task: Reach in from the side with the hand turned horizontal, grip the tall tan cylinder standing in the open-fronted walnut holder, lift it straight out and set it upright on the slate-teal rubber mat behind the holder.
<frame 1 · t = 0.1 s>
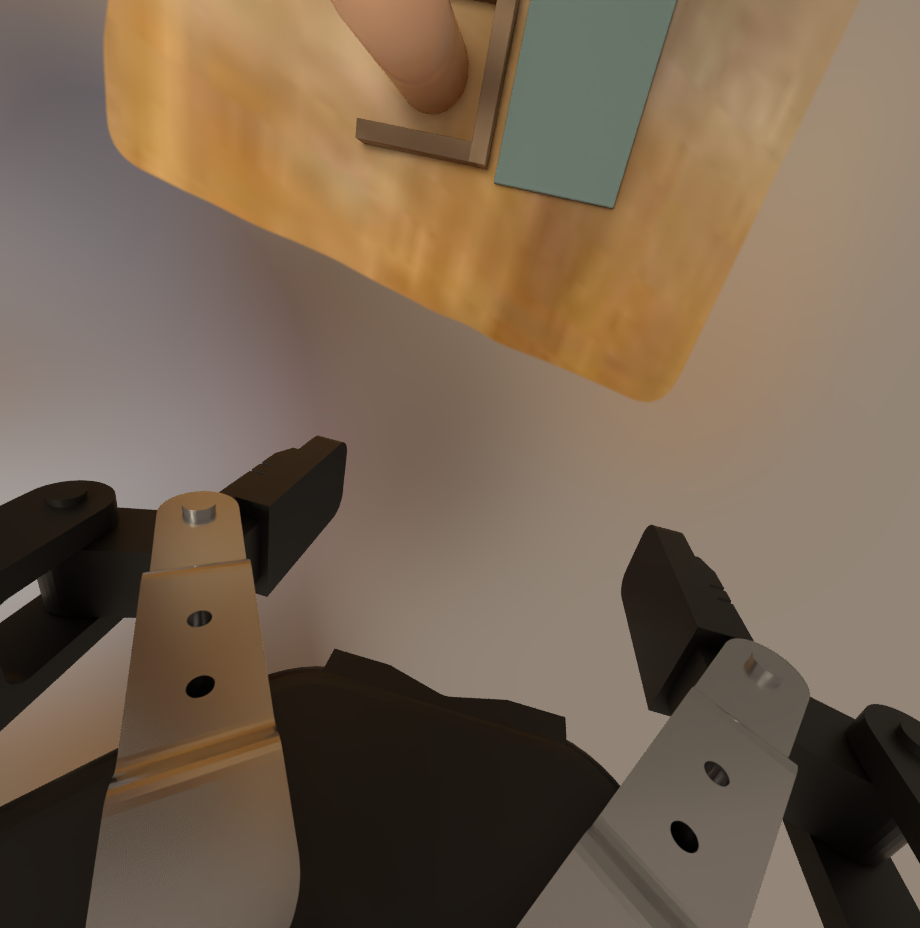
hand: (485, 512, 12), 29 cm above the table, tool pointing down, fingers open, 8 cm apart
tall tan cylinder: (410, 27, 26), in the holder
mat: (577, 97, 31), on the table
holder: (432, 68, 32), on the table
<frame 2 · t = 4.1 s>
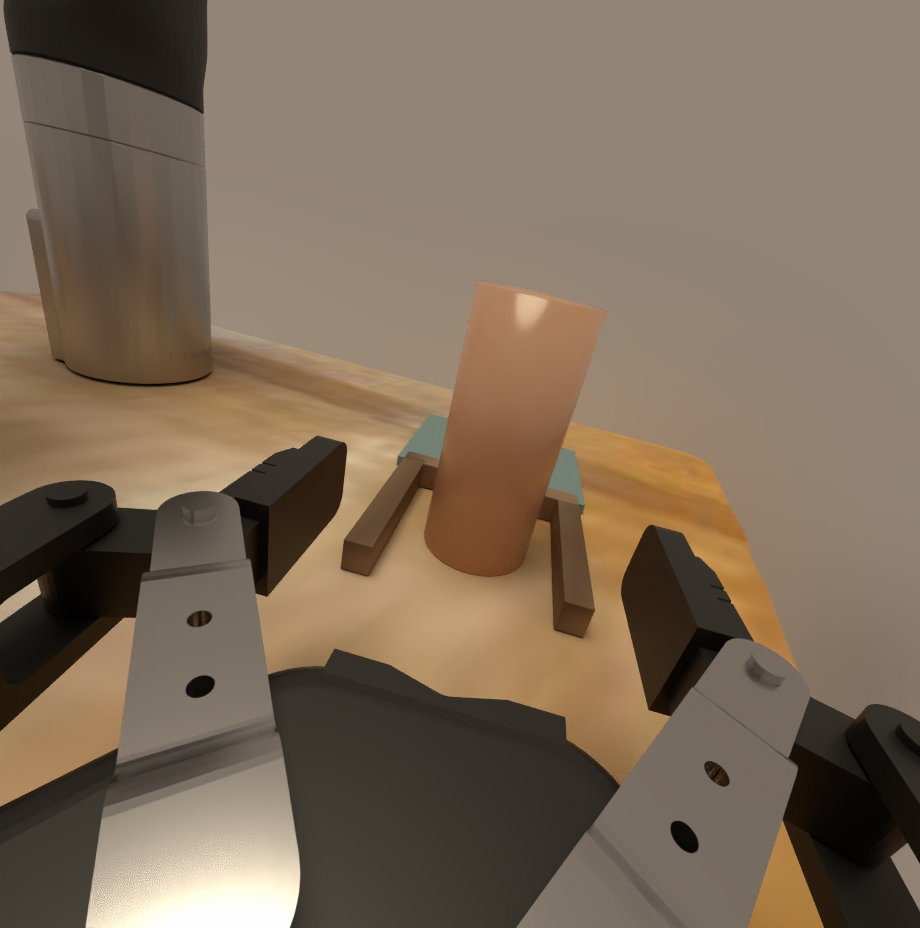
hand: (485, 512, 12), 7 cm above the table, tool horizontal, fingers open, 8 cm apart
tall tan cylinder: (503, 433, 20), in the holder
mat: (494, 460, 32), on the table
holder: (474, 541, 23), on the table
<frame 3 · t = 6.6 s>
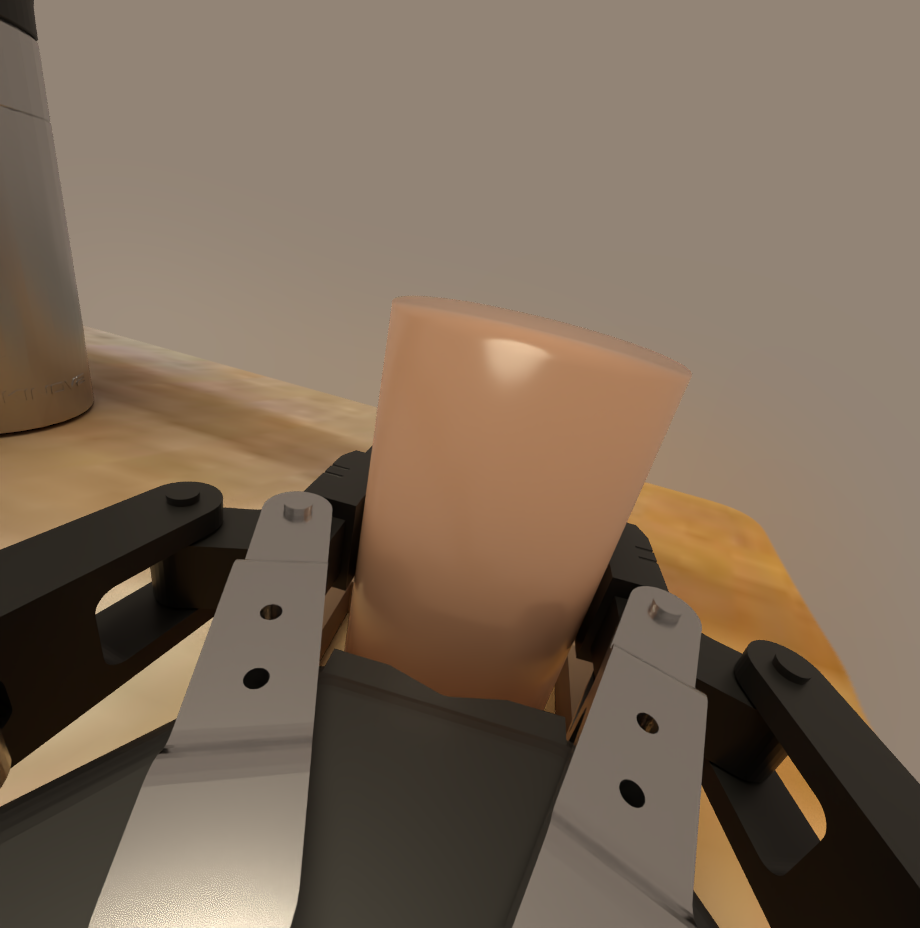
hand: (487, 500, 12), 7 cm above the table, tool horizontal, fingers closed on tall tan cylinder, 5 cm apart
tall tan cylinder: (466, 588, 10), in the holder, touching gripper
holder: (423, 745, 13), on the table
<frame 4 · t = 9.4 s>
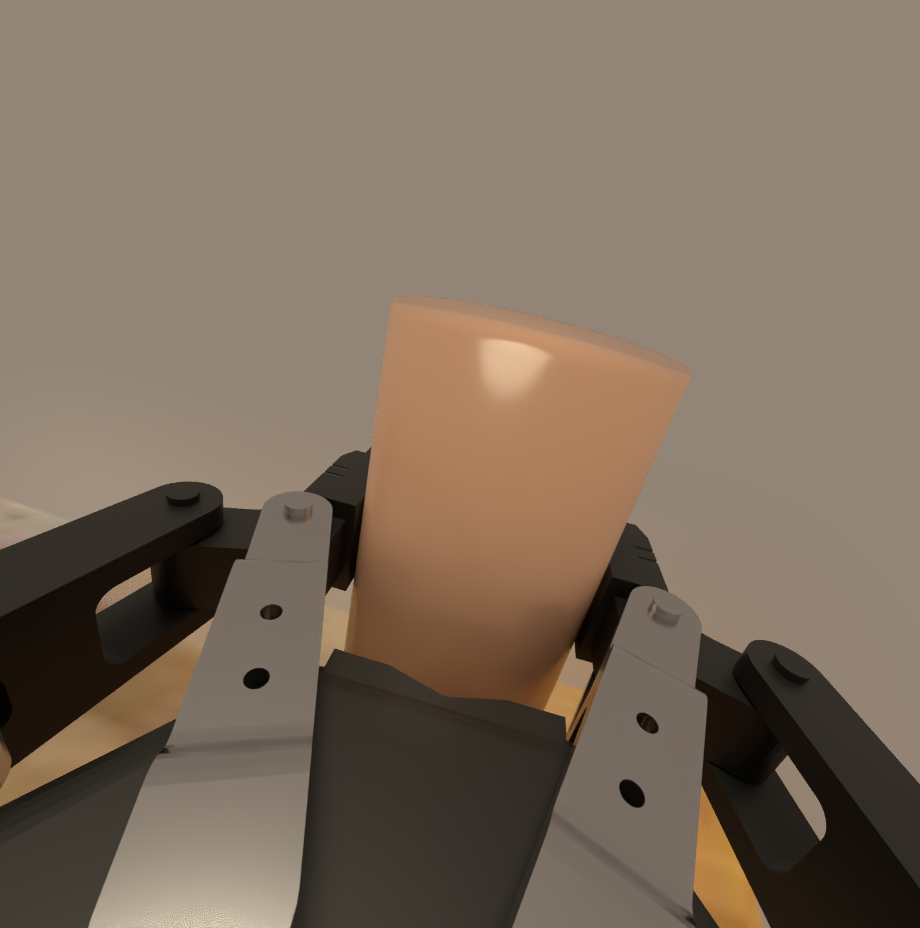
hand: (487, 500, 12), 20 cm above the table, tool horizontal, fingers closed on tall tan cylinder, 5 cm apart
tall tan cylinder: (466, 589, 10), point 19 cm above the table, touching gripper
when the fingers open (9 cm above the table, at t = 12.1 s): tall tan cylinder stays where it is, resting on mat.
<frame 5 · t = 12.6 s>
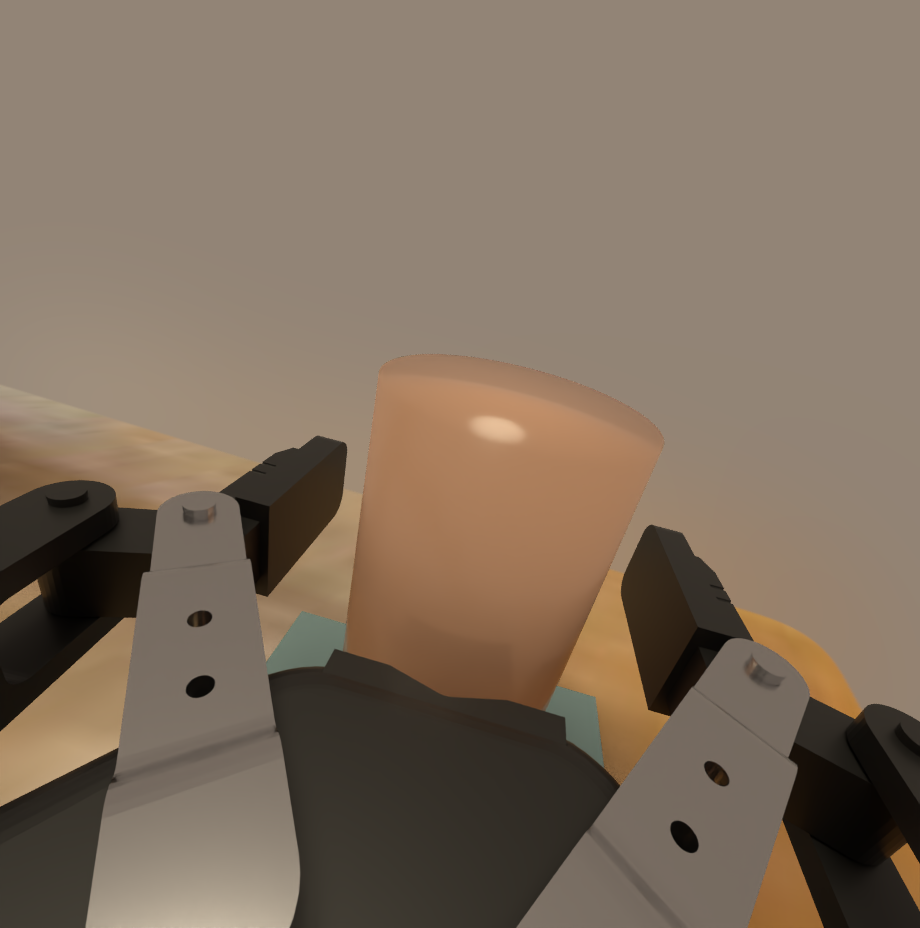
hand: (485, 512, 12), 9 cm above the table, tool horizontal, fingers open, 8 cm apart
tall tan cylinder: (455, 629, 11), on the mat, point 7 cm above the table
mat: (413, 780, 14), on the table
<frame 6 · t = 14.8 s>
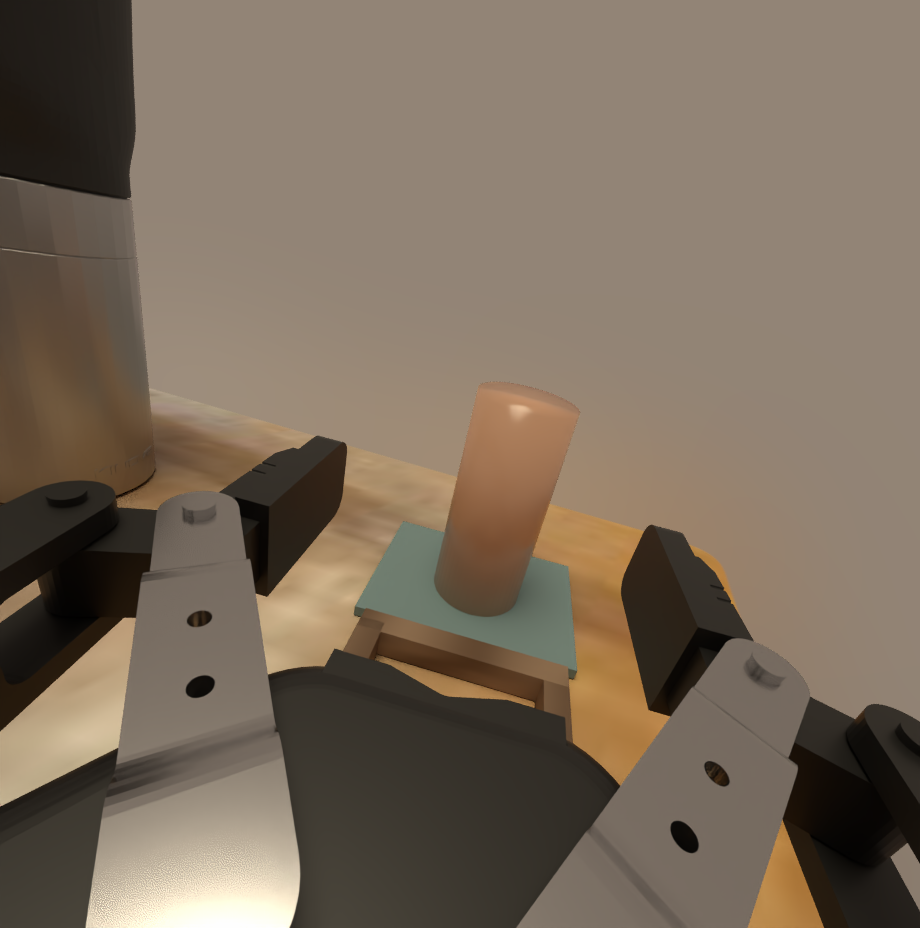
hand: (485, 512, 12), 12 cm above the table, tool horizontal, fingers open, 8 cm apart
tall tan cylinder: (499, 501, 25), on the mat, point 7 cm above the table
mat: (473, 591, 28), on the table
holder: (437, 758, 18), on the table
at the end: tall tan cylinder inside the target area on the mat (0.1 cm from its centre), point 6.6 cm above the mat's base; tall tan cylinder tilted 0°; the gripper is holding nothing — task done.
